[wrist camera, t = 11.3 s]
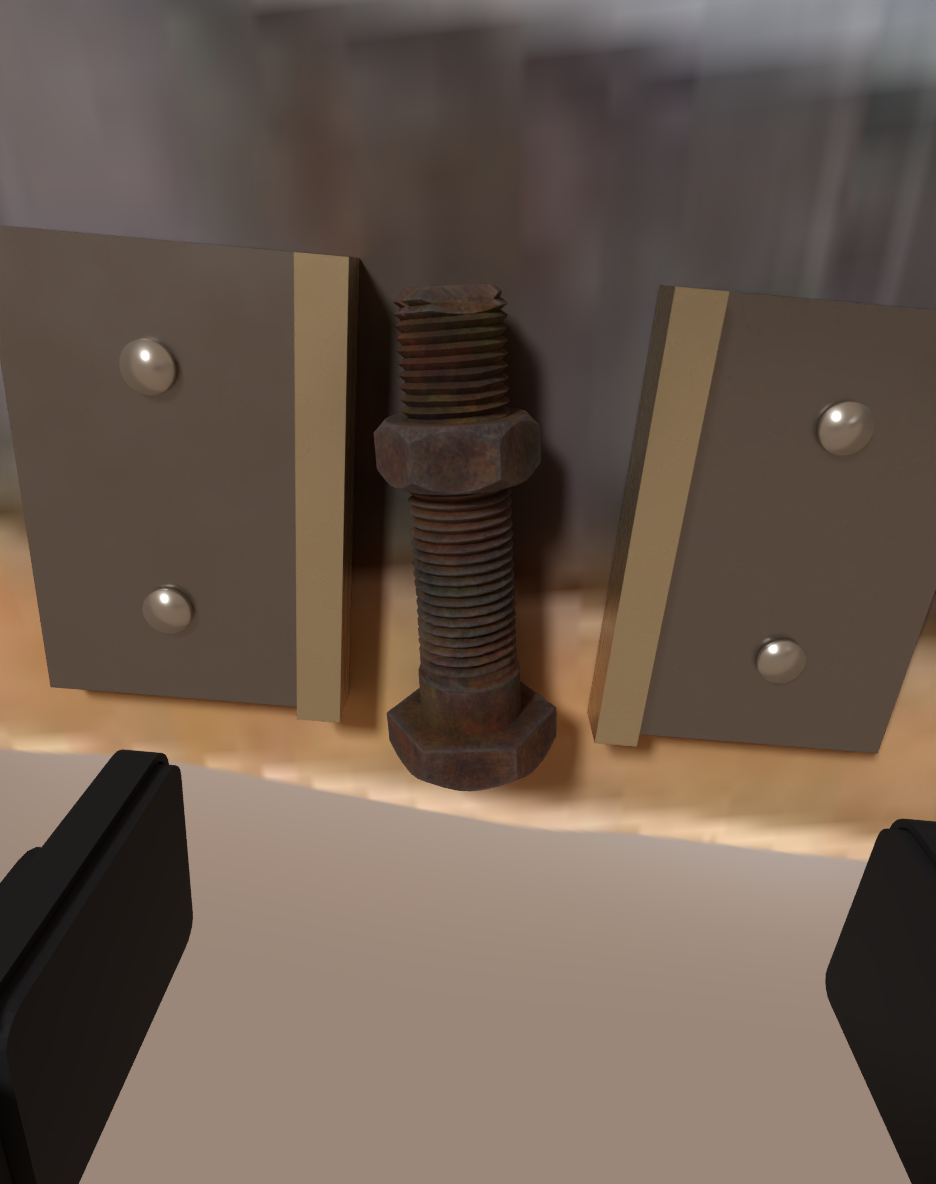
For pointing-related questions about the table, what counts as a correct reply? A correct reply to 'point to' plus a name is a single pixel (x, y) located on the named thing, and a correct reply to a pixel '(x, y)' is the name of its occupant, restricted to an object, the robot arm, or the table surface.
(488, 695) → the bolt
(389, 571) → the table surface
